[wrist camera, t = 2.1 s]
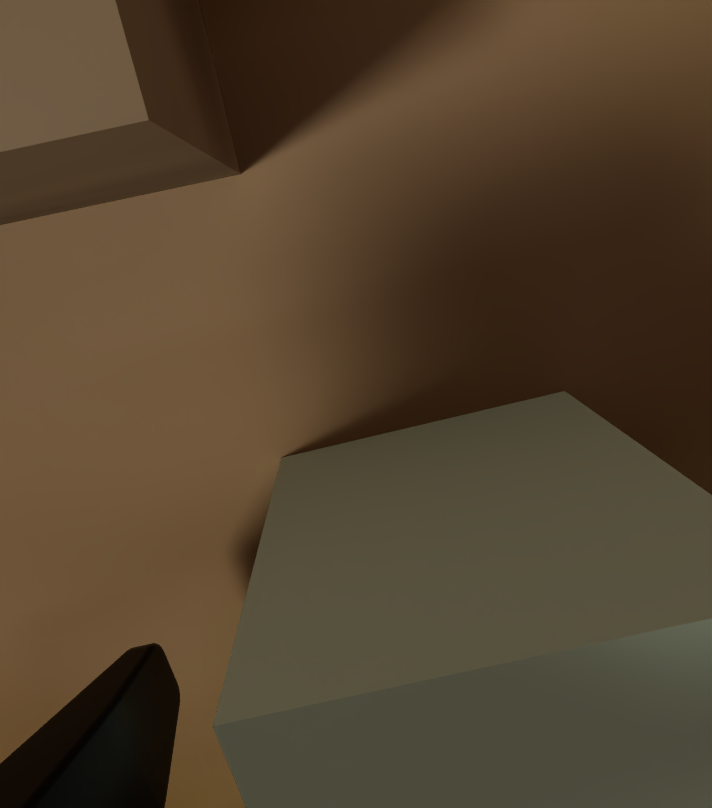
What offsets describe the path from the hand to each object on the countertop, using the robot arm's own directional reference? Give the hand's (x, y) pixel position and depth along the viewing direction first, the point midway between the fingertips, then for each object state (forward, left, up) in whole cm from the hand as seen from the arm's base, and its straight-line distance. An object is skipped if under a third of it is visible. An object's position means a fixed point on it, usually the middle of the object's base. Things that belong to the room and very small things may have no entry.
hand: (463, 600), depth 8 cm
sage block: (0, 0, -1) cm, 1 cm away
